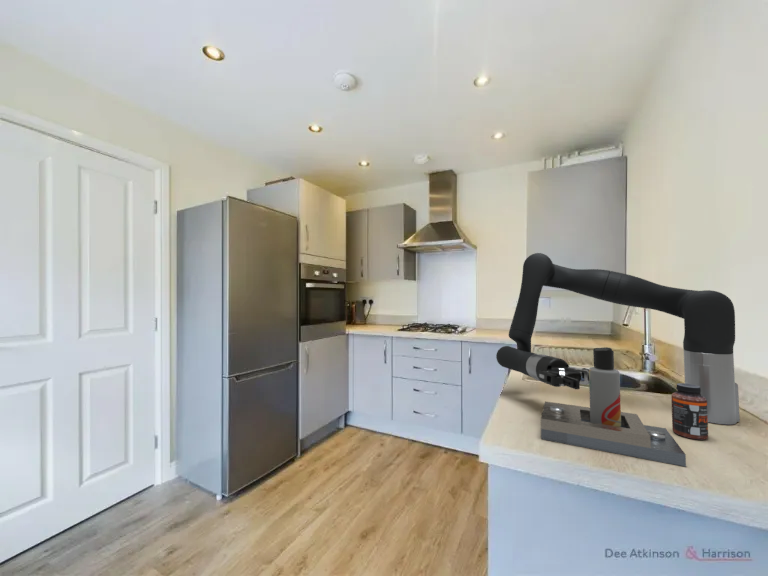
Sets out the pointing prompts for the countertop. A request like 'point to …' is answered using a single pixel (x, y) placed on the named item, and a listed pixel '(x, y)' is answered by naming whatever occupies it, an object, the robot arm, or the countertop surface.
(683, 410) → the supplement bottle
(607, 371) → the lotion bottle
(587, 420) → the bolted steel plate
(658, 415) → the countertop surface
